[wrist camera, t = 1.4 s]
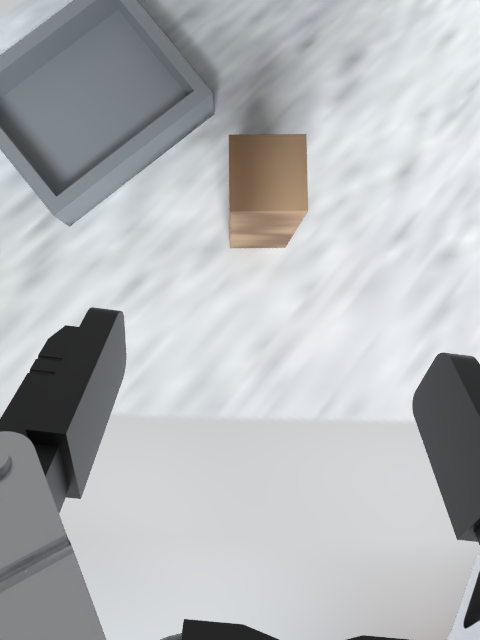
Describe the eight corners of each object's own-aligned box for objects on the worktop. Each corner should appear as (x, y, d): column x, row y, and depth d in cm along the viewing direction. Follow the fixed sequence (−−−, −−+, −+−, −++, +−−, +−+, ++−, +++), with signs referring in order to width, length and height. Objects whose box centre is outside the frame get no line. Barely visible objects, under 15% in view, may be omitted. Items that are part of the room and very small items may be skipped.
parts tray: (123, 2, 35) (113, -30, 32) (214, 114, 34) (212, 92, 31) (-23, 112, 34) (-47, 90, 31) (69, 226, 34) (53, 215, 31)
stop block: (284, 193, 34) (306, 134, 24) (285, 247, 34) (307, 210, 24) (229, 193, 34) (228, 134, 24) (230, 248, 34) (230, 211, 24)
